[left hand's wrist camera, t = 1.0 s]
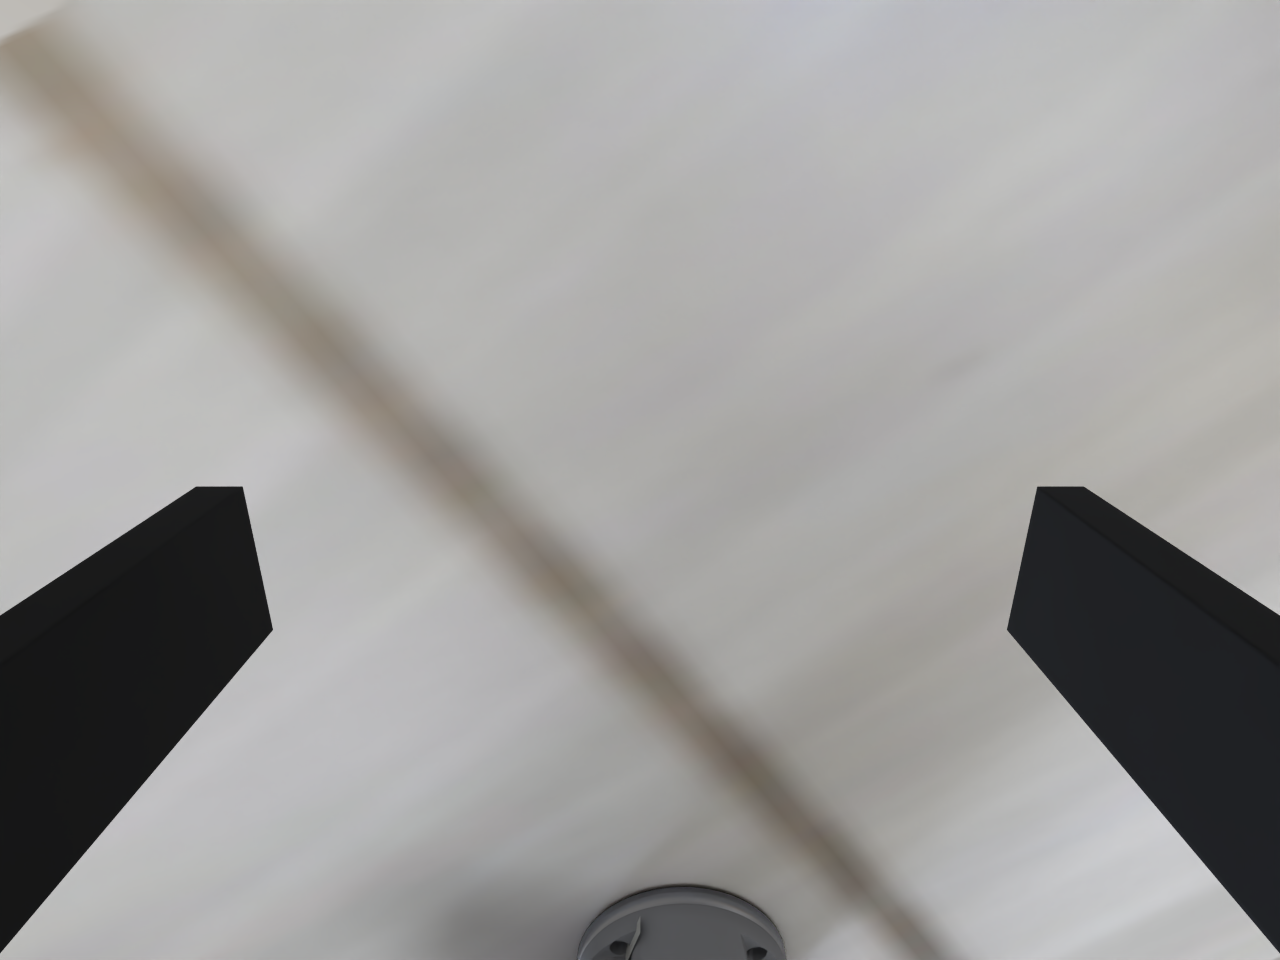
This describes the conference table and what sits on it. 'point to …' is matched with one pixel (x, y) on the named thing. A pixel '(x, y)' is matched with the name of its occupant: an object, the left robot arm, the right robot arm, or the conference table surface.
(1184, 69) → the conference table surface
